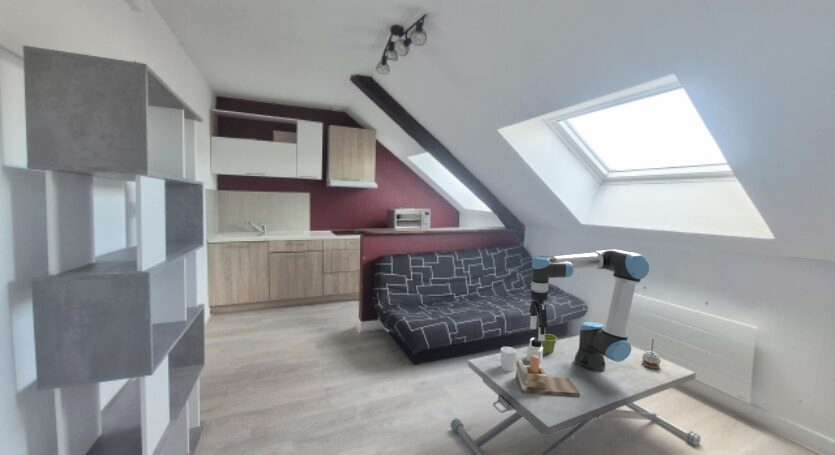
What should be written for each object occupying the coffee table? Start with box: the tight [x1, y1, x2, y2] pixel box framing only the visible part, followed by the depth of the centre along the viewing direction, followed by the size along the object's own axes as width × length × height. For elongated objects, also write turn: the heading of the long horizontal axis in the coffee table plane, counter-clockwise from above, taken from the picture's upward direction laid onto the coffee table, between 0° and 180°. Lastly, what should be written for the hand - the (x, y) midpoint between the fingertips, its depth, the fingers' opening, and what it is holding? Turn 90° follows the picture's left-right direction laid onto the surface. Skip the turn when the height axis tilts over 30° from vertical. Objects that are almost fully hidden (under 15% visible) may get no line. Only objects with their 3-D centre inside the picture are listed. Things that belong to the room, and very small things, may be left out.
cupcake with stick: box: [641, 338, 662, 369], centre depth 186 cm, size 8×8×15 cm
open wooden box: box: [523, 364, 548, 388], centre depth 162 cm, size 9×9×6 cm
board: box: [515, 359, 581, 397], centre depth 162 cm, size 26×13×10 cm, turn 87°
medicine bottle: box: [526, 337, 544, 365], centre depth 189 cm, size 7×7×12 cm
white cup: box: [500, 346, 517, 372], centre depth 179 cm, size 8×8×10 cm
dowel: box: [529, 355, 540, 374], centre depth 162 cm, size 4×4×13 cm
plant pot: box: [541, 333, 558, 354], centre depth 200 cm, size 9×9×9 cm
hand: (537, 334), depth 160 cm, fingers open, 13 cm apart
